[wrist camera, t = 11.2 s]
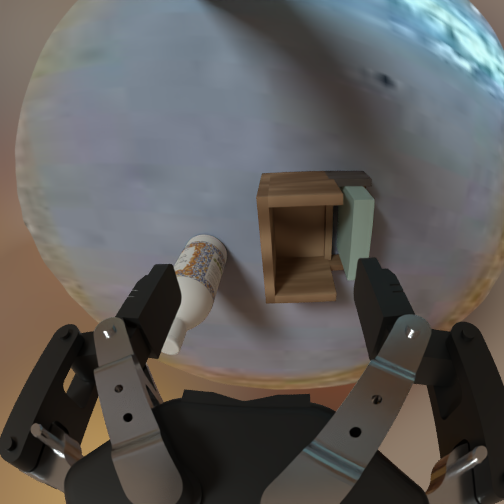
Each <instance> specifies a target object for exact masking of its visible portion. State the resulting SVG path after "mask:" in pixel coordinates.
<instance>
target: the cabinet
mask: <svg viewBox="0 0 504 504" xmlns="http://www.w3.org/2000/svg"><path fill="white" fill-rule="evenodd" d="M371 183H372V179H371V178H370V177H369V176H368V175H367V174H366V173H365V172H364V171H306V172H281V173H262V176H261V180H260V184H259V188H258V193H257V197H256V199H257V210H258V220H259V230H260V241H261V252H262V262H263V273H264V284H265V296H266V303H299V302H323V301H336V289H335V285H334V281H333V277H332V273H331V271H333V270H344V268H343V265H342V262H341V259H340V256H339V254H332V255H331V249H332V227H333V205H343V193H342V192H341V190H340V189H339V187H338V186H363V187H364V188H365V189H366V186H371Z"/></svg>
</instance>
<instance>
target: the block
mask: <svg viewBox="0 0 504 504" xmlns="http://www.w3.org/2000/svg"><path fill="white" fill-rule="evenodd" d="M339 189H340V190H341V192H342V193H343V205H338V225H337V244H336V246H337V249H338V253H339V256H340V259H341V262H342V265H343V268H344V271H345V274H346V278H347V280H355V277H356V269H357V262H358V259H359V258H369V251H370V243H371V235H372V226H373V215H374V204H375V199H374V198H373V197H372V196H371V195H370V194H369V192H368V191H367V190H366V189H365V188H364V187H363V186H339Z"/></svg>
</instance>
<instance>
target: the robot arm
mask: <svg viewBox="0 0 504 504" xmlns="http://www.w3.org/2000/svg"><path fill="white" fill-rule="evenodd" d="M132 290H133V291H131V293H130V294H129V297H127V299H126V300H125V302H124V303H123V305H122V307H121V308H120V310H119V311H118V313H117V315H116V316H115V317H111V318H107V319H105V320H103V321H102V322H100V323H99V324H98V325H97V326H96V328H95V330H94V331H93V332H86V333H80V331H79V329H78V328H77V326H75V325H73V324H68V325H65V326H63V327H61V328H60V329H58V330H57V331H56V333H55V334H54V335H53V337H52V339H51V340H50V342H49V343H48V345H47V347H46V348H45V350H44V351H43V354H42V355H41V357H40V358H39V360H38V362H37V363H36V366H35V367H34V369H33V370H32V372H31V374H30V376H29V378H28V380H27V381H26V384H25V385H24V387H23V389H22V391H21V393H20V395H19V397H18V399H17V401H16V403H15V405H14V407H13V409H12V412H11V414H10V416H9V418H8V420H7V423H6V425H5V427H4V429H3V432H2V434H1V437H0V455H1V457H2V458H3V459H4V460H5V461H7V462H8V463H10V464H12V465H13V466H15V467H16V468H18V469H19V470H20V471H21V472H23V473H25V474H27V475H28V476H30V477H32V478H34V479H36V480H37V481H39V482H42V483H45V484H47V485H49V486H51V487H53V488H55V489H58V490H60V491H62V492H64V494H65V500H66V504H495V503H497V502H499V501H502V500H504V385H503V383H502V380H501V377H500V375H499V372H498V370H497V367H496V365H495V363H494V360H493V358H492V356H491V353H490V351H489V349H488V347H487V345H486V342H485V340H484V338H483V336H482V334H481V332H480V331H479V329H478V328H477V327H476V326H474V325H473V324H471V323H467V322H458V323H456V324H455V325H454V326H453V327H452V329H451V331H450V332H448V331H441V330H434V329H431V327H430V325H429V323H428V322H427V321H426V320H425V319H423V318H422V317H420V316H417V315H415V313H414V311H413V309H412V307H411V305H410V303H409V301H408V299H407V297H406V295H405V293H404V292H403V289H402V287H401V285H400V283H399V281H398V279H397V277H396V275H395V274H393V273H392V272H391V271H390V270H389V269H382V268H381V266H380V264H379V262H378V260H377V258H359V259H358V262H357V269H356V277H355V284H354V301H355V305H356V309H357V312H358V316H359V319H360V323H361V327H362V331H363V335H364V338H365V342H366V346H367V351H368V355H369V359H370V361H371V362H370V363H369V365H368V366H367V368H366V370H365V371H364V373H363V374H362V376H361V377H360V379H359V380H358V382H357V383H356V385H355V386H354V388H353V389H352V391H351V392H350V394H349V395H348V396H347V398H346V399H345V401H344V402H343V403H342V405H341V406H340V407H339V409H338V410H337V411H334V410H332V409H330V408H328V407H325V406H323V405H319V404H316V403H311V402H310V394H297V395H275V396H270V397H265V398H260V399H255V400H250V401H241V400H237V399H233V398H230V397H227V396H223V395H220V394H217V393H214V392H203V391H193V390H184V393H183V396H182V398H178V399H172V400H169V401H166V402H163V400H162V398H161V396H160V394H159V391H158V389H157V387H156V385H155V382H154V380H153V378H152V375H151V373H150V370H149V367H148V365H147V364H146V362H147V359H148V358H154V359H158V358H159V356H160V353H161V351H162V348H163V346H164V343H165V341H166V338H167V336H168V333H169V331H170V329H171V326H172V324H173V321H174V319H175V317H176V314H177V312H178V310H179V307H180V305H181V300H182V295H181V290H180V286H179V283H178V280H177V276H176V273H175V270H174V267H173V265H172V264H156V265H154V267H153V268H152V270H151V271H150V273H149V274H148V275H145V276H144V277H143V278H142V279H140V280H139V281H138V282H137V283H136V285H135V286H134V288H133V289H132ZM70 368H72V369H73V371H74V372H75V373H76V374H75V376H74V378H73V380H72V382H71V384H70V386H69V389H68V391H67V393H65V391H64V388H63V383H64V380H65V378H66V376H67V374H68V372H69V370H70ZM413 383H414V384H423V385H427V388H428V393H429V397H430V402H431V406H432V411H433V416H434V421H435V426H436V432H437V438H438V444H439V451H440V458H441V459H440V460H439V461H438V462H437V463H436V464H435V466H434V467H433V469H432V472H431V481H430V485H429V487H428V489H427V491H426V492H424V491H423V489H422V488H421V487H420V486H419V485H417V484H416V483H415V482H414V481H413V480H412V479H410V478H409V477H408V476H407V475H406V474H405V473H403V472H402V471H401V470H400V469H399V468H398V467H397V466H395V465H394V464H393V463H392V462H391V461H390V460H389V459H388V458H386V457H385V456H384V455H383V454H382V453H381V452H380V451H379V450H378V448H379V446H380V445H381V443H382V441H383V440H384V438H385V436H386V434H387V433H388V431H389V429H390V428H391V426H392V424H393V422H394V420H395V419H396V417H397V415H398V413H399V411H400V409H401V407H402V405H403V403H404V401H405V399H406V397H407V395H408V393H409V391H410V389H411V387H412V384H413ZM98 396H99V400H100V403H101V408H102V412H103V416H104V420H105V424H106V427H107V430H108V434H109V437H110V440H109V441H107V442H106V443H104V444H102V445H101V446H99V447H98V448H97V449H95V450H94V451H92V452H91V453H89V454H87V455H86V456H83V455H82V451H81V447H80V445H81V442H82V439H83V436H84V433H85V430H86V428H87V425H88V422H89V419H90V417H91V414H92V411H93V409H94V406H95V404H96V401H97V398H98Z"/></svg>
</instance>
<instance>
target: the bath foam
mask: <svg viewBox="0 0 504 504" xmlns="http://www.w3.org/2000/svg"><path fill="white" fill-rule="evenodd" d="M226 260H227V252H226V249H225V247H224V245H223V244H222V243H221V242H220V241H219V240H218V239H217V238H215V237H213V236H210V235H198V236H195V237H193V238H192V239H191V240H190V241H189V242H188V243H187V245H186V247H185V248H184V250H183V251H182V253H181V255H180V257H179V258H178V260H177V262H176V264H175V265H174V270H175V273H176V276H177V280H178V283H179V286H180V290H181V295H182V300H181V305H180V307H179V310H178V312H177V314H176V317H175V319H174V321H173V324H172V326H171V329H170V331H169V333H168V336H167V338H166V341H165V343H164V346H163V348H162V352H163V353H166V354H169V355H175V354H177V353H179V351H180V349H181V346H182V343H183V341H184V338H185V335H186V332H187V330H190V329H192V328H194V327H196V326H197V325H199V324H200V323H201V322H203V321H204V320H205V318H206V317H207V316H208V314H209V313H210V311H211V309H212V306H213V303H214V299H215V296H216V293H217V290H218V286H219V283H220V280H221V277H222V273H223V270H224V267H225V263H226Z"/></svg>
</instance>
